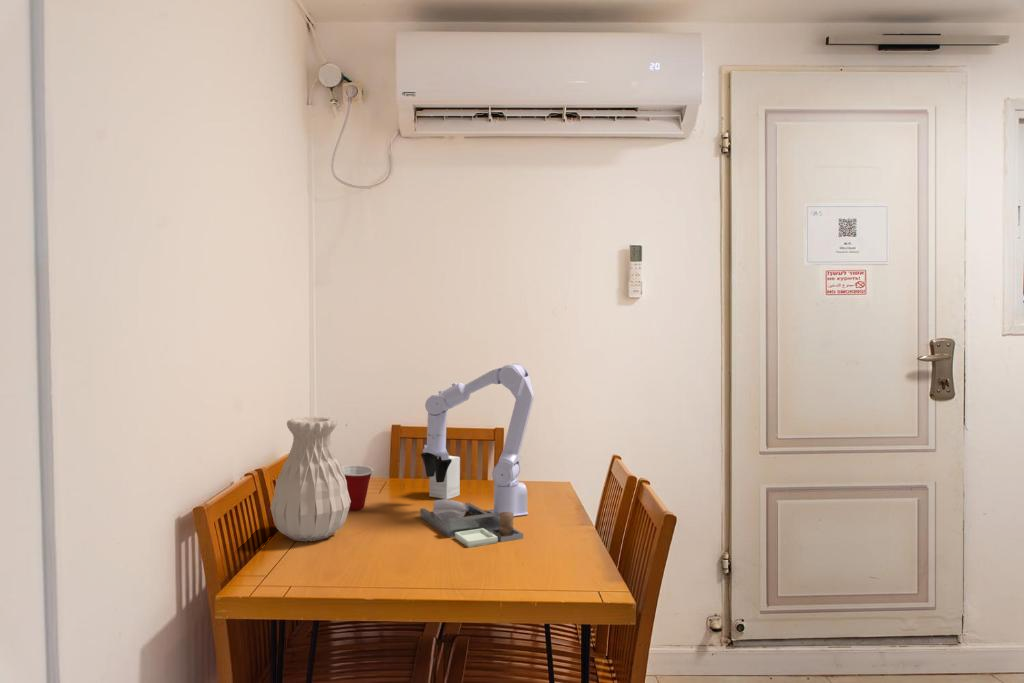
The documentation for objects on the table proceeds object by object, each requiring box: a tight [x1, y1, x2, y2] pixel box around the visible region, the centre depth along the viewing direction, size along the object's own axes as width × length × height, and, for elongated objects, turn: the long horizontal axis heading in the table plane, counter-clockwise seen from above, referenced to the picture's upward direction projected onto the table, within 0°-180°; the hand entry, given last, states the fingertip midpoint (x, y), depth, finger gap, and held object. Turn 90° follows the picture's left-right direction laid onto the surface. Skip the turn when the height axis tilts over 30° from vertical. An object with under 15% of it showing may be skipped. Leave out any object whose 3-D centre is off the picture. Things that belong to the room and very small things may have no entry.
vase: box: [270, 416, 351, 542], centre depth 171 cm, size 20×20×30 cm
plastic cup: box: [341, 464, 374, 512], centre depth 196 cm, size 11×11×12 cm
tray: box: [454, 528, 499, 548], centre depth 168 cm, size 8×8×2 cm
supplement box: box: [428, 455, 461, 500], centre depth 213 cm, size 7×7×13 cm
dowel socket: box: [489, 527, 524, 543], centre depth 172 cm, size 7×7×1 cm
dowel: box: [499, 512, 514, 536], centre depth 172 cm, size 4×4×6 cm
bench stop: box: [419, 502, 500, 539], centre depth 183 cm, size 15×21×4 cm
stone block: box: [432, 499, 468, 522], centre depth 189 cm, size 12×5×10 cm
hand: (435, 479), depth 199 cm, fingers open, 7 cm apart
